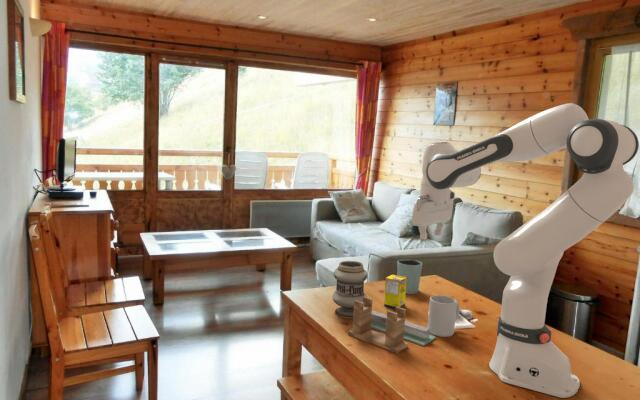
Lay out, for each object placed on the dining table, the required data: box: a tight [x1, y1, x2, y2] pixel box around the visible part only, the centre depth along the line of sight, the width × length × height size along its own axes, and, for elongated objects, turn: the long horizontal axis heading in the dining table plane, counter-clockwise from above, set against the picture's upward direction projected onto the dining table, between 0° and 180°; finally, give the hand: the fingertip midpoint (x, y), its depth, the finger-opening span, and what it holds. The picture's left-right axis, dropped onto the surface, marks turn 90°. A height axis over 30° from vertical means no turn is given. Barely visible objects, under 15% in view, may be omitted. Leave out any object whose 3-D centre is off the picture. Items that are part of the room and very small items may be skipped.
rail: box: [371, 309, 431, 341], centre depth 158 cm, size 22×3×3 cm, turn 50°
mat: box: [371, 323, 436, 347], centre depth 158 cm, size 24×8×1 cm, turn 50°
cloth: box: [427, 306, 479, 330], centre depth 173 cm, size 22×19×6 cm
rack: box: [347, 297, 409, 354], centre depth 149 cm, size 18×6×11 cm, turn 50°
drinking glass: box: [396, 258, 423, 295], centre depth 200 cm, size 10×10×12 cm
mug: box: [426, 294, 461, 338], centre depth 160 cm, size 12×8×11 cm
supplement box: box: [383, 274, 407, 309], centre depth 181 cm, size 6×6×11 cm
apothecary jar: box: [331, 260, 369, 319], centre depth 170 cm, size 12×12×18 cm
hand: (430, 237), depth 155 cm, fingers open, 8 cm apart
